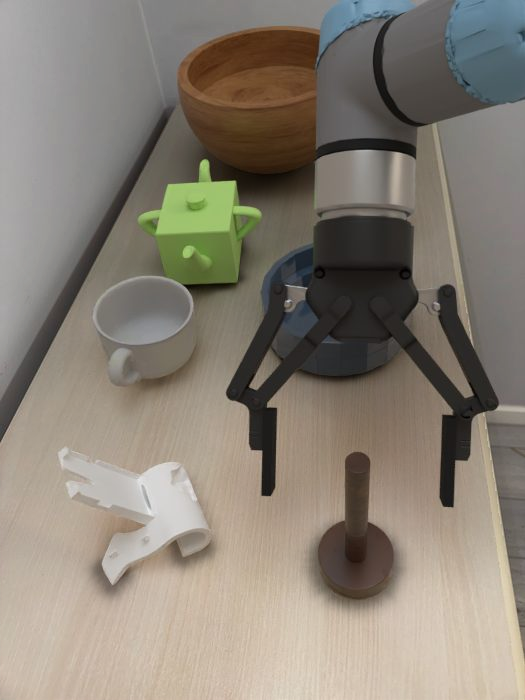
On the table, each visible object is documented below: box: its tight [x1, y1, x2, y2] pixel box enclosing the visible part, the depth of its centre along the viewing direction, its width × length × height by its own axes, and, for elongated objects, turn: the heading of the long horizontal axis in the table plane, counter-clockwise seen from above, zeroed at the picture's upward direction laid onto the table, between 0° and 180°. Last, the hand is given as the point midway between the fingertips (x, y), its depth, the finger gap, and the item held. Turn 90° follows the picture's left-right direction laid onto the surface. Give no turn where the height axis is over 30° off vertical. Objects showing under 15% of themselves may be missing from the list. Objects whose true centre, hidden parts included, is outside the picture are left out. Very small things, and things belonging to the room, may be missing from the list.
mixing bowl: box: [260, 242, 413, 377], centre depth 76 cm, size 17×17×6 cm
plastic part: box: [57, 446, 213, 587], centre depth 58 cm, size 8×10×12 cm
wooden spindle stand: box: [317, 451, 395, 600], centre depth 53 cm, size 6×6×16 cm
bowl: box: [176, 25, 320, 175], centre depth 98 cm, size 25×25×15 cm
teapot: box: [137, 158, 263, 285], centre depth 84 cm, size 15×13×11 cm
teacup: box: [91, 275, 197, 388], centre depth 74 cm, size 14×11×8 cm
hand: (355, 497), depth 52 cm, fingers open, 13 cm apart
